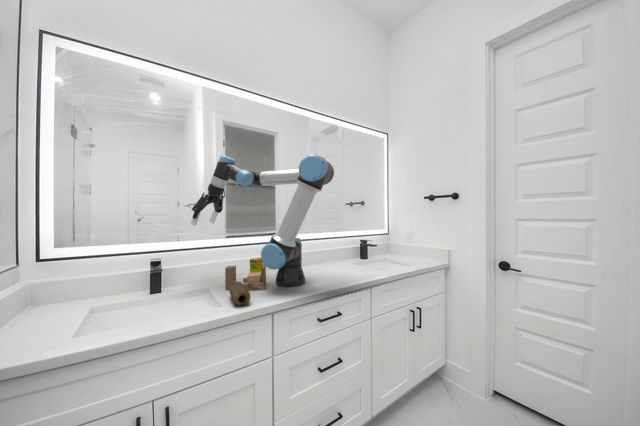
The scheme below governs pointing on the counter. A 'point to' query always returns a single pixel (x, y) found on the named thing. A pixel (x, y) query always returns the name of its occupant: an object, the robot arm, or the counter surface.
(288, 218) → the robot arm
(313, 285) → the counter surface
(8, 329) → the counter surface
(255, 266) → the supplement box
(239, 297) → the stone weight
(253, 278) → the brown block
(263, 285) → the wooden stand
